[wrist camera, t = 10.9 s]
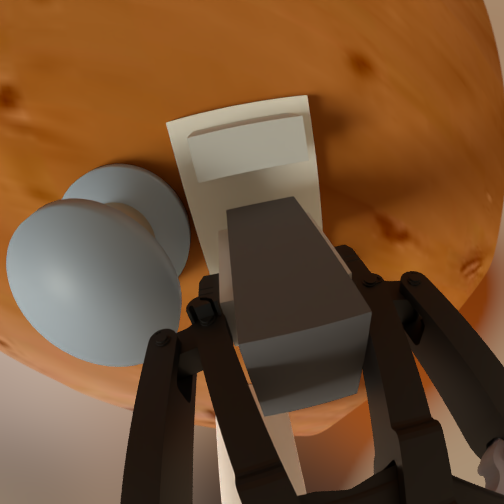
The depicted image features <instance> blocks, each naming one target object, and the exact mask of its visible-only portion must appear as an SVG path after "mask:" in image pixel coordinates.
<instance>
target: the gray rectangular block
mask: <svg viewBox="0 0 504 504" xmlns="http://www.w3.org/2000/svg"><path fill="white" fill-rule="evenodd" d="M226 214H227V227H228V240H229V252H230V264H231V275H232V286H233V297H234V308H235V318H236V328H237V338H238V345H239V348H240V351H241V354H242V357H243V360H244V363H245V366H246V368H247V371H248V374H249V377H250V380H251V382H252V385H253V388H254V391H255V393H256V396H257V399H258V401H259V404H260V407H261V409H262V412H263V415H264V417H266V416H271V415H276V414H281V413H286V412H291V411H295V410H299V409H303V408H308V407H312V406H315V405H319V404H323V403H327V402H330V401H334V400H337V399H340V398H344V397H347V396H350V395H353V394H356V393H357V391H358V387H359V382H360V377H361V373H362V368H363V363H364V358H365V352H366V347H367V341H368V335H369V328H370V322H371V315H372V311H371V309H370V308H369V306H368V304H367V303H366V301H365V300H364V298H363V296H362V295H361V293H360V292H359V290H358V289H357V287H356V285H355V284H354V282H353V281H352V279H351V278H350V276H349V275H348V273H347V272H346V270H345V269H344V267H343V266H342V264H341V263H340V261H339V260H338V258H337V257H336V255H335V254H334V252H333V251H332V249H331V248H330V246H329V245H328V243H327V242H326V241H325V239H324V238H323V236H322V235H321V233H320V232H319V230H318V229H317V228H316V226H315V225H314V223H313V222H312V221H311V219H310V218H309V216H308V215H307V214H306V212H305V211H304V210H303V208H302V207H301V205H300V204H299V203H298V201H297V200H296V199H295V197H294V196H291V197H286V198H281V199H276V200H271V201H266V202H261V203H256V204H252V205H247V206H242V207H237V208H233V209H228V210H226Z"/></svg>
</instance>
